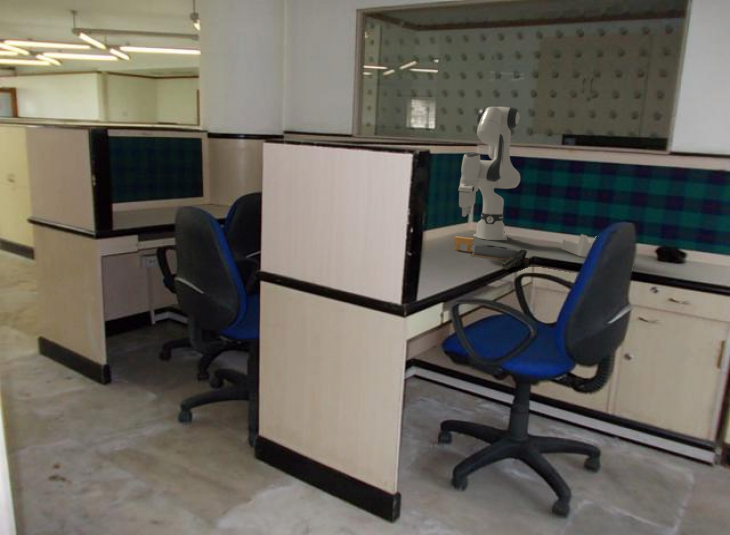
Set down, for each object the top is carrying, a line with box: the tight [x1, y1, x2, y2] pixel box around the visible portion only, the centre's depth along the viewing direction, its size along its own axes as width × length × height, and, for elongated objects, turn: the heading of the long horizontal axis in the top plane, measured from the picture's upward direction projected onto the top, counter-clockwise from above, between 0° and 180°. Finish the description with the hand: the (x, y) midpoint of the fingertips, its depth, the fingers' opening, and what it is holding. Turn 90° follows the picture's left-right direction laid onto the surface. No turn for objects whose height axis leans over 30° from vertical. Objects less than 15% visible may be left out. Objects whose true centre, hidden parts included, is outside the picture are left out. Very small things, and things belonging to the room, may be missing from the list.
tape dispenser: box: [560, 233, 597, 258], centre depth 313 cm, size 18×10×10 cm, turn 13°
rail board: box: [470, 243, 520, 261], centre depth 292 cm, size 12×22×5 cm, turn 69°
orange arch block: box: [453, 235, 475, 253], centre depth 302 cm, size 3×9×6 cm, turn 69°
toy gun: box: [501, 248, 530, 271], centre depth 270 cm, size 2×16×10 cm, turn 130°
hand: (466, 215), depth 298 cm, fingers open, 8 cm apart
